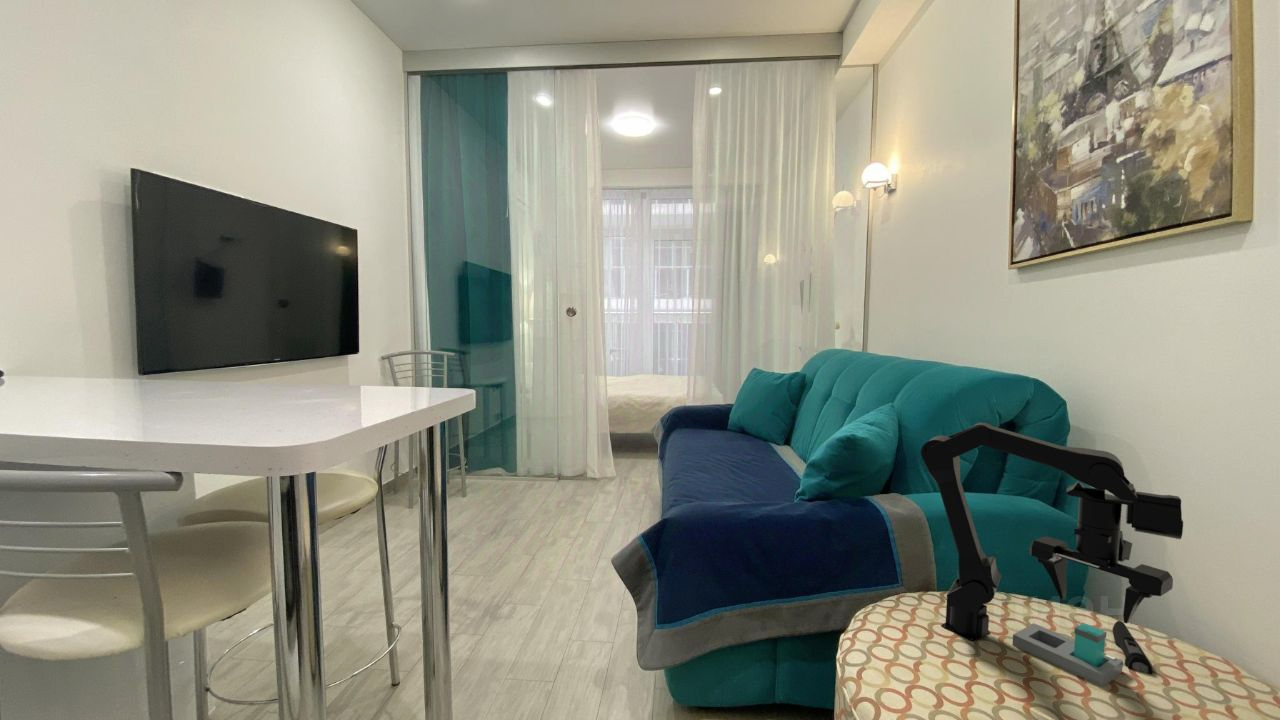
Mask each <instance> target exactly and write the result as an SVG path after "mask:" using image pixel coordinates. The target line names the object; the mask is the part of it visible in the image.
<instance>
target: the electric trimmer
mask: <svg viewBox="0 0 1280 720" xmlns="http://www.w3.org/2000/svg"><path fill="white" fill-rule="evenodd" d="M1112 634H1113V640H1114V643H1115V646H1117V647H1119V648H1120V649H1121V651H1122V652H1123V655H1124V657H1125V658H1124V659H1125V660H1124V666H1125V667H1126V668H1127V669H1129V670H1131V671H1135V672H1140V673H1143V674H1147V675H1153V673H1154V670H1153V667H1152V664H1151V662H1150V660H1149V658H1148V657H1147V655H1146V654H1145V653H1144V651H1143V649H1142V648H1141V646H1140V645H1139V644H1138V642H1137V641H1136V639H1134V636H1133V634H1131V632H1130V630H1129V629H1128V627H1127V626H1126V623H1124V621H1120V620H1117V621H1115V623H1114V625H1113V626H1112Z"/></svg>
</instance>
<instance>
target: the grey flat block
mask: <svg viewBox="0 0 1280 720" xmlns="http://www.w3.org/2000/svg"><path fill="white" fill-rule="evenodd" d="M1011 645H1012V646H1014V647H1016V648H1019V649H1021V650H1022V651H1025V652H1027V653H1029V654H1031V655H1033V656H1035V657H1038V658H1040V659H1042V660H1044V661H1047V662H1048V663H1050V664H1052V665H1055V666H1057V667H1059V668H1062V669H1063V670H1066V671H1068V672H1070V673H1072V674H1075V675H1077V676H1078V677H1081V678H1082V679H1085V680H1088V681H1089V682H1092V683H1093V684H1096V685H1098V686H1100V687H1104V686H1106V685H1108V684H1109V683H1110V682H1111V681H1112V680H1113V679H1116V678H1117V677H1118V676H1119V675H1120V674H1122V673H1123V665H1124V664H1123V663H1124V661H1123V660H1122V659H1120V658H1118V657H1115V656H1113V655H1110V654H1108V653H1106V652H1104V661H1103V665H1102V666H1101V667H1099V668H1098V667H1096V666H1094V665H1091V664H1089V663H1087V662H1085V661H1082V660H1080V659H1078V658H1076V657H1074V646H1075V639H1072V638H1070V637H1067V636H1065V635H1063V634H1060V633H1058V632H1055V631H1053V630H1051V629H1048V628H1046V627H1044V626H1041V625H1039V624H1036V623H1031V624H1030V625H1028V626H1026V627H1024V628H1023V629H1020V630H1019V631H1017V632H1015V633H1013V634H1012V643H1011Z"/></svg>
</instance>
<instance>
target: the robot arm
mask: <svg viewBox="0 0 1280 720" xmlns="http://www.w3.org/2000/svg"><path fill="white" fill-rule="evenodd" d="M981 446H982V447H988V448H991V449H994V450H997V451H1001V452H1003V453H1007V454H1009V455H1013V456H1016V457H1019V458H1022V459H1027V460H1029V461H1033V462H1035V463H1039V464H1042V465H1044V466H1048V467H1052V468H1054V469H1056V470H1059V471H1061V472H1062V473H1064V474H1066V475H1068V476H1069V477H1071V478H1073V479H1075V480H1077V481H1076V482H1075V483H1074V484H1073V485H1071V486H1069V487H1067V488H1066V492H1065V493H1066V495H1067V496H1068V497H1069V496H1070V497H1073V498H1074V497H1076V498H1079V499H1078V511H1077V513H1078V515H1077V527H1074V535H1076V545H1075V550H1074V549H1071V548H1069V544H1068V542H1067V541H1064V540H1062V539H1061V540H1060V539H1058V538H1055V537H1050V536H1047V535H1045V536H1042V537H1040V538H1037V539H1035V540H1033V541H1031V543H1030V544H1029V555H1030V556H1032V557H1035V558H1037V559H1036V560H1037V562H1038V563H1040V564H1042V565H1043V568H1044V569H1045V571H1046V572H1047V574H1048V576H1049V577H1050V579H1051V581H1052V584H1053V586H1054V588H1055V590H1056V593H1057V594H1058V597H1059V600H1062V601H1064V600H1066V598H1067V592H1068V591H1067V567H1068V564H1069V561H1072V562H1074V563H1077V564H1081V565H1084V566H1087V567H1091V568H1093V569H1097V570H1100V571H1102V572H1103V571H1104V572H1106V573H1109V574H1112V575H1116V576H1118V577H1121V578H1125V579H1128V584H1129V586H1128V587H1126V588H1125V594H1124V602H1123V603H1124V604H1123V614H1122V617H1123V623H1124V624H1125V625H1126V624H1128V623H1130V621H1131V620H1132V618H1133V617H1134V615H1135V613H1136V611H1137V610H1138V608H1139V606H1140V605H1141V603H1142V602H1143V600H1144V599H1145V598H1146V599H1150V598H1152V597H1154V596H1155V597H1162V596H1163V595H1165V594H1167V593H1168V592H1169V591H1171V590H1173V585H1174V582H1173V581H1174V578H1173V576H1172V575H1171V573H1170V572H1169V571H1167V570H1164V569H1160V568H1156V567H1154V566H1151V565H1147V564H1143V563H1141V564H1139V565H1137V566H1135V567H1132V566H1131V567H1130V566H1127V565H1124V564H1122V563H1119V562H1125V561H1130V557H1131V552H1132V547H1133V542H1130V541H1128V540H1126V539H1123V536H1124V535H1123V531H1122V530H1121V521H1122V509H1123V507H1122V506H1123V505H1124V506H1125V505H1126V509H1125V523H1126V524H1127V525H1131V528H1133V530H1134V532H1138V533H1142V534H1148V535H1153V536H1154V535H1155V536H1158V537H1159V536H1160V537H1166V538H1172V539H1175V540H1177V539H1178V540H1181V539H1182V536H1183V533H1184V521H1183V517H1182V516H1183V515H1182V499H1181V498H1180V496H1179V495H1178V496H1177V495H1171V494H1158V493H1149V492H1142V491H1137V490H1136V488H1135V485H1134V483H1131V481H1130V480H1129V479H1128V478H1127V476H1126V475H1125V470H1124V467H1123V463H1122V461H1121V460H1120V458H1119V457H1117V455H1115V454H1114V453H1112V452H1109V451H1104V450H1100V449H1098V450H1097V449H1091V448H1084V447H1073V446H1065V445H1059V444H1056V443H1052V442H1049V441H1045V440H1042V439H1038V438H1035V437H1032V436H1028V435H1026V434H1025V435H1023V434H1021V433H1018V432H1014V431H1012V430H1011V431H1010V430H1007V429H1004V428H1000V427H997V426H993V425H991V424H989V423H987V422H977V423H976V424H974V425H973V426H971V427H968V428H966V429H964V430H961V431H958V432H956V433H954V434H952V435H951V434H950V435H948V436H946V435H937V436H934V437H932V438H931V439H929V440H928V441H926V442H925V443H924V444H923V446H922V447H921V449H920V456H921V459H922V461H923V463H924V466H925V468H926V470H927V472H928V473H929V474H930V477H932V479H933V480H934V482H935V483H936V486H937V488H938V491H939V494H940V497H941V501H942V504H943V506H944V510H945V513H946V517H947V520H948V521H947V522H948V524H949V526H950V531H951V534H952V538H953V541H954V545H955V547H956V552H957V554H958V555H957V556H958V561H957V563H958V564H957V566H958V568H957V569H958V578H955V579H954V581H953V583H952V585H951V587H950V588H949V591H948V592H947V594H946V604H945V605H946V606H945V607H946V609H945V622H944V623H941V625H940V627H941V628H943V629H946V630H947V631H949V632H952V633H953V634H956V635H958V636H959V637H962V638H963V639H966V641H967V640H968V641H970V642H976V641H978V640H982V639H983V638H986V637H988V636H989V633H990V634H991V632H990V631H989V623H990V615H989V614H987V613H988V612H987V611H988V606H987V605H986V604H989V603H990V602H992V601H993V599H994V598H995V595H996V592H997V589H998V587H999V584H1000V582H1001V581H1000V580H1001V578H1002V574H1001V573H1000V572H999V570H998V567H997V562H996V557H995V556H988V557H987V555H986V554H985V552H984V551H983V549H982V547H981V544H980V540H979V537H978V534H977V531H976V528H975V524H974V521H973V517H972V514H971V510H970V508H969V507H970V506H969V503H968V500H967V498H966V494H965V491H964V488H963V484H962V481H961V458H960V456H962V455H964V454H966V453H968V452H970V451H973V450H974V449H977V448H979V447H981ZM1084 484H1086V485H1087V486H1085V485H1084ZM1089 486H1090V487H1089ZM1106 491H1108V492H1109V493H1111V494H1108V493H1106Z"/></svg>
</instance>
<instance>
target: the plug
mask: <svg viewBox="0 0 1280 720" xmlns="http://www.w3.org/2000/svg"><path fill="white" fill-rule="evenodd" d="M1106 638H1107V631H1105V630H1102V629H1100V628H1097V627H1095V626H1092V625H1089V624H1087V623H1085V622H1082V623H1081V624H1079V625H1078V626H1076V627H1075V628H1074V640H1075V646H1074V657H1076V658H1078V659H1080V660H1082V661H1085V662H1087V663H1089V664H1091V665H1094V666H1096V667H1098V668H1099V667H1101V666H1102V665H1103V661H1104V653H1105V645H1106V644H1105V643H1106Z"/></svg>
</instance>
